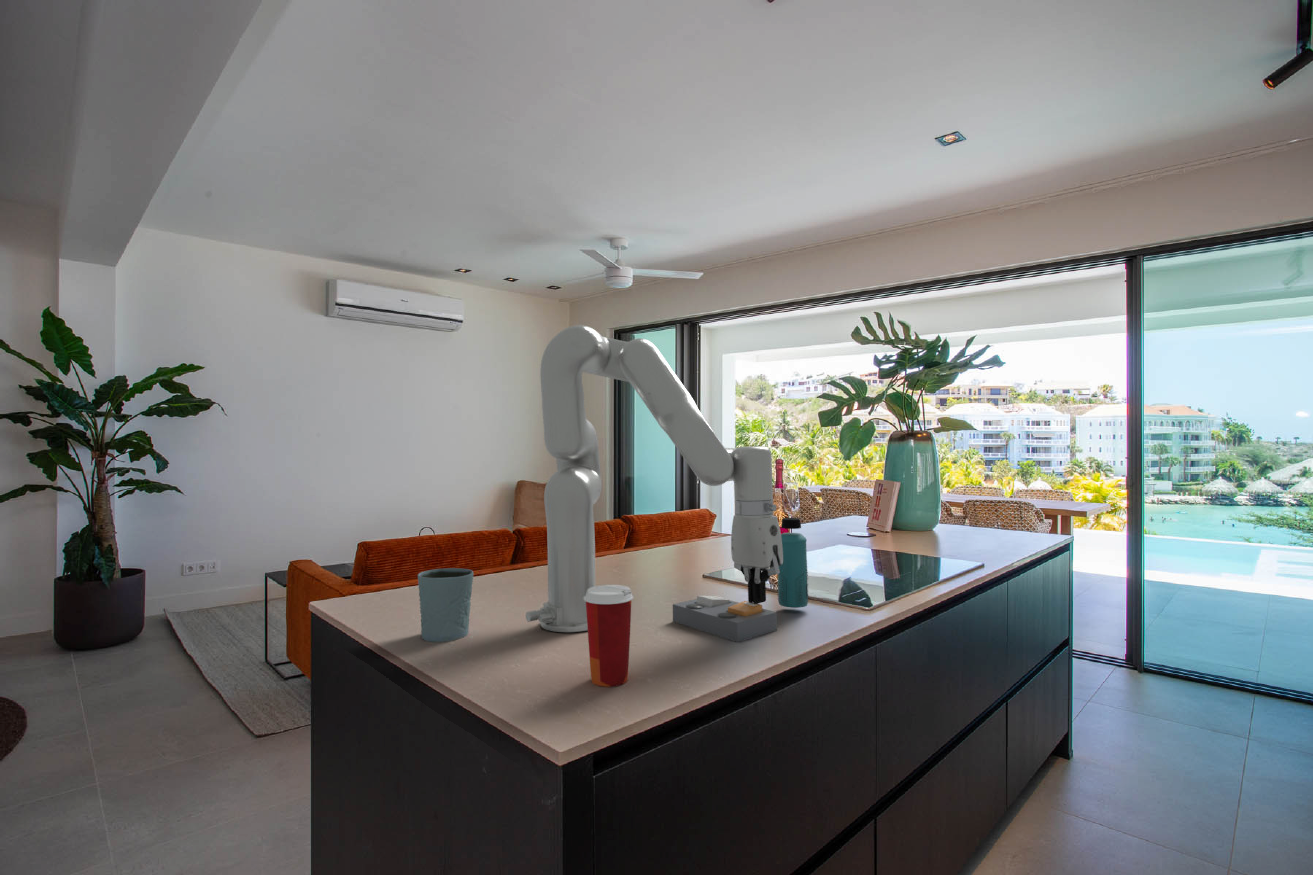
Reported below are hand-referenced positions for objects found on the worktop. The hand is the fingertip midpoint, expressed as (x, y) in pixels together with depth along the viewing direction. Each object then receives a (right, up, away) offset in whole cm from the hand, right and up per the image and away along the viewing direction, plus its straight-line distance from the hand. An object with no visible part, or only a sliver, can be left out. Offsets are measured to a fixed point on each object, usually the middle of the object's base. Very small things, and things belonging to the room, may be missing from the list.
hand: (757, 601), depth 127 cm
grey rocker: (-8, -2, +5) cm, 10 cm away
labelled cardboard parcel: (-3, -1, -2) cm, 3 cm away
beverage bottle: (+9, -5, +11) cm, 16 cm away
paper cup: (-27, -5, -28) cm, 39 cm away
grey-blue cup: (-60, -6, -3) cm, 61 cm away
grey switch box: (-7, -5, +1) cm, 8 cm away
